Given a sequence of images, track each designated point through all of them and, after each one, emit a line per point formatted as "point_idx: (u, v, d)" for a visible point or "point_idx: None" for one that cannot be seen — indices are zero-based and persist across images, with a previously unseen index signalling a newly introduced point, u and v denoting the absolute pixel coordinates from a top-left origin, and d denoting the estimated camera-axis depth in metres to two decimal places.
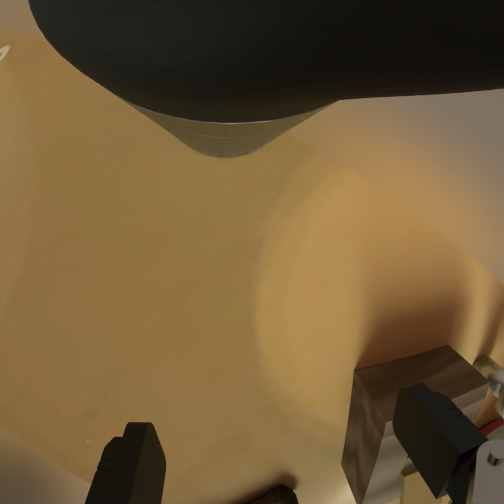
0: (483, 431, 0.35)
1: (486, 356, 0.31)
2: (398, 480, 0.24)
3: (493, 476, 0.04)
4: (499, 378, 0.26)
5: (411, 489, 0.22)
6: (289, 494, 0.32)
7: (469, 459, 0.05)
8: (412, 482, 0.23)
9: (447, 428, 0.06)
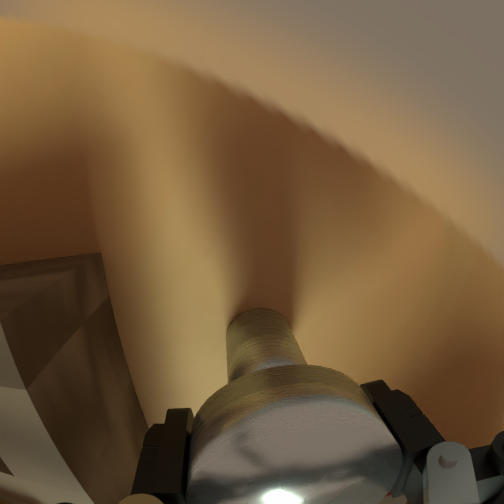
0: None
1: (263, 313, 0.14)
2: None
3: (448, 479, 0.05)
4: None
5: None
6: None
7: (423, 459, 0.06)
8: None
9: (400, 427, 0.07)
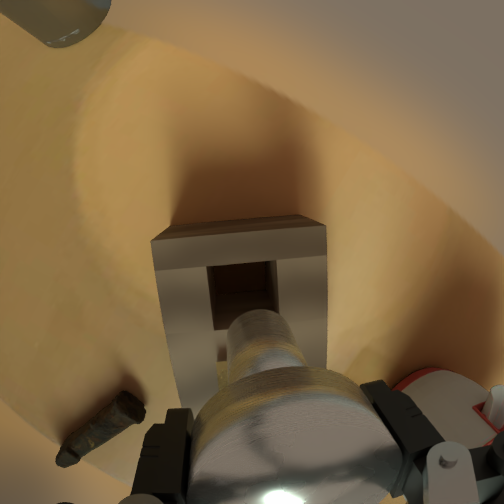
0: (411, 376, 0.34)
1: (263, 314, 0.14)
2: None
3: (448, 480, 0.05)
4: None
5: None
6: (132, 403, 0.31)
7: (422, 460, 0.06)
8: None
9: (400, 427, 0.07)
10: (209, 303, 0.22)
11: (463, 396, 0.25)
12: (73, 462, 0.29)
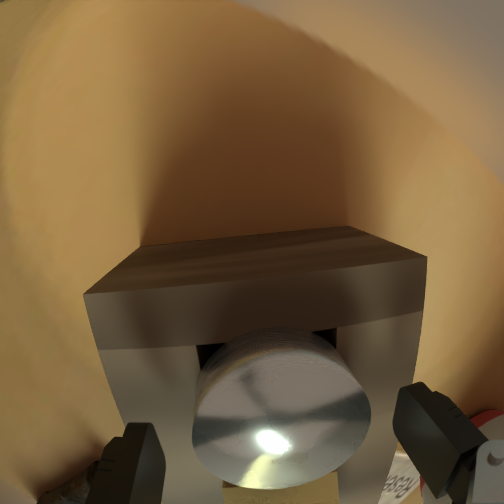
0: None
1: None
2: None
3: (493, 476, 0.04)
4: None
5: None
6: None
7: (469, 459, 0.05)
8: None
9: (447, 428, 0.06)
10: None
11: None
12: None
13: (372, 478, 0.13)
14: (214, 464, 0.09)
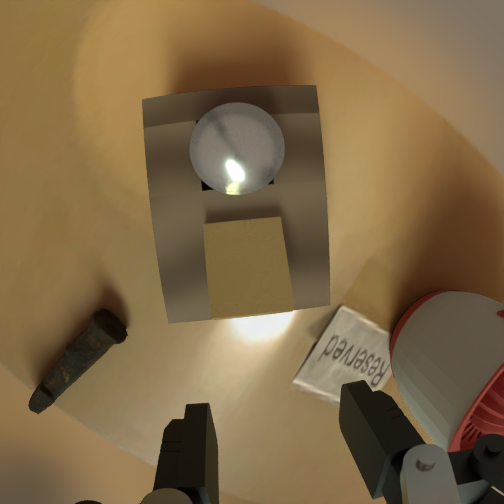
0: (423, 298, 0.32)
1: None
2: None
3: (427, 483, 0.05)
4: None
5: (218, 253, 0.20)
6: (112, 321, 0.29)
7: (401, 462, 0.06)
8: (219, 239, 0.20)
9: (379, 428, 0.07)
10: None
11: (484, 305, 0.24)
12: (47, 404, 0.28)
13: (316, 255, 0.23)
14: (199, 166, 0.18)
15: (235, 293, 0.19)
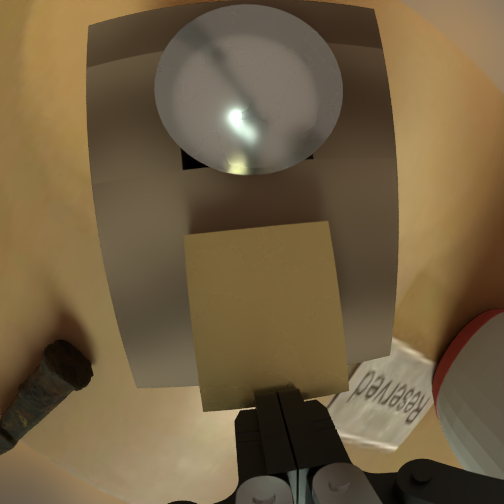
0: (478, 319, 0.22)
1: None
2: None
3: None
4: None
5: (214, 293, 0.10)
6: (70, 358, 0.19)
7: None
8: (214, 265, 0.11)
9: (299, 439, 0.07)
10: None
11: None
12: (7, 447, 0.18)
13: (378, 281, 0.13)
14: (173, 117, 0.08)
15: (246, 368, 0.10)
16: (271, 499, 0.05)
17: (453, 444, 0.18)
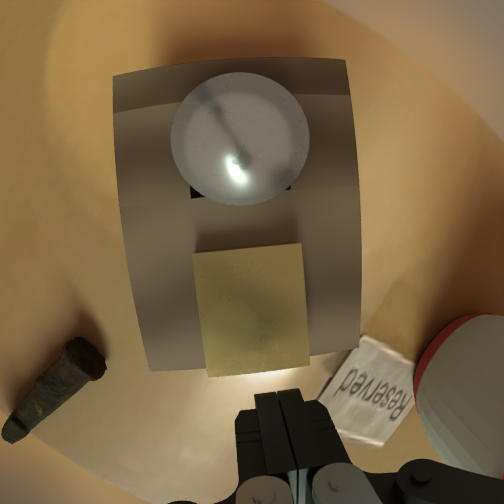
0: (454, 323, 0.26)
1: None
2: None
3: None
4: None
5: (215, 296, 0.15)
6: (87, 353, 0.23)
7: None
8: (215, 276, 0.15)
9: (299, 439, 0.07)
10: None
11: None
12: (20, 436, 0.22)
13: (345, 285, 0.17)
14: (184, 162, 0.12)
15: (237, 348, 0.15)
16: (271, 500, 0.05)
17: (431, 436, 0.21)
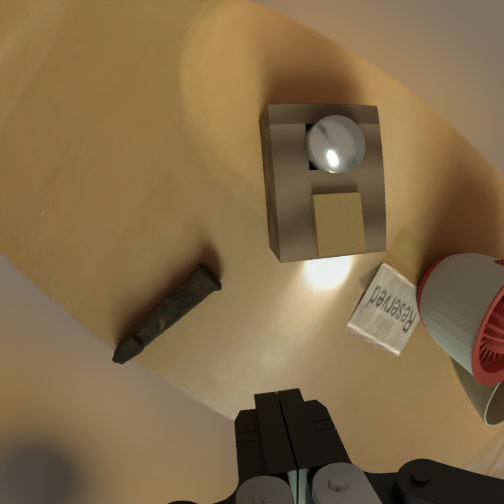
0: (440, 259, 0.42)
1: None
2: None
3: None
4: None
5: (323, 215, 0.31)
6: (212, 272, 0.39)
7: None
8: (323, 206, 0.31)
9: (299, 440, 0.07)
10: None
11: (485, 258, 0.34)
12: (135, 352, 0.38)
13: (378, 216, 0.33)
14: (316, 153, 0.28)
15: (333, 241, 0.31)
16: (271, 500, 0.05)
17: (432, 329, 0.38)
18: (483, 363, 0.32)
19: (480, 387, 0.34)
